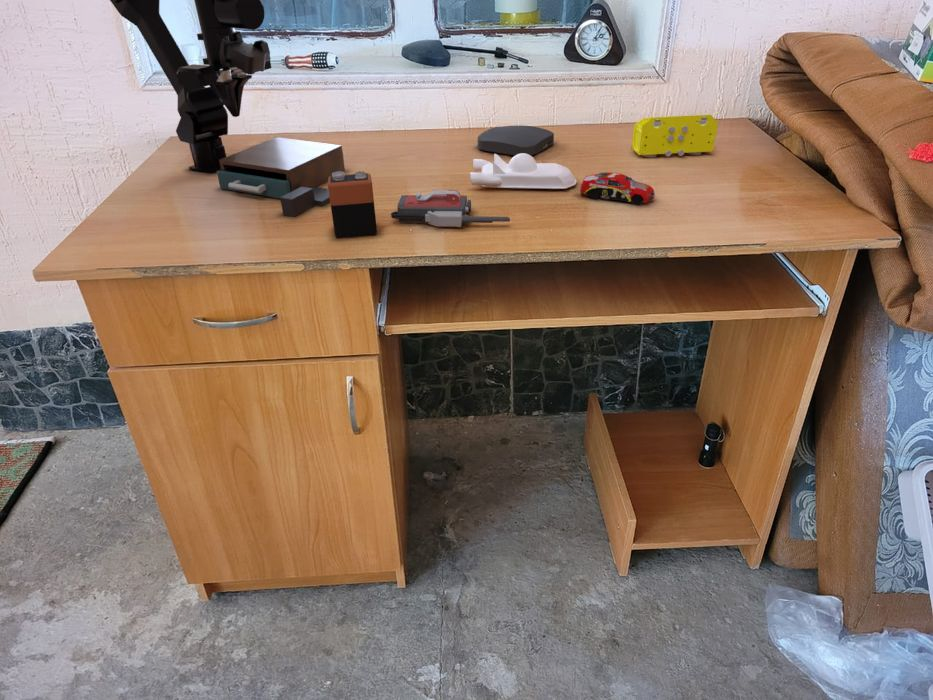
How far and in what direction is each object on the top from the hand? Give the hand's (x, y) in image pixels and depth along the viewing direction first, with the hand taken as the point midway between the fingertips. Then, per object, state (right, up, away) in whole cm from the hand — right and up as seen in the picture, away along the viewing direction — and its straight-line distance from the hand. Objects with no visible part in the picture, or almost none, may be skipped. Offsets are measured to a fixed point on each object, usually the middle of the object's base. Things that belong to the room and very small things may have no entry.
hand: (236, 116), depth 125 cm
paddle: (+16, -19, -7) cm, 25 cm away
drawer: (+7, -12, +3) cm, 14 cm away
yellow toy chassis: (+88, -3, +14) cm, 89 cm away
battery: (+26, -26, -18) cm, 41 cm away
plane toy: (+55, -13, 0) cm, 57 cm away
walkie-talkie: (+42, -23, -14) cm, 50 cm away
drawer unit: (+8, -11, +5) cm, 15 cm away
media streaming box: (+55, +1, +21) cm, 59 cm away
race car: (+72, -17, -7) cm, 74 cm away
